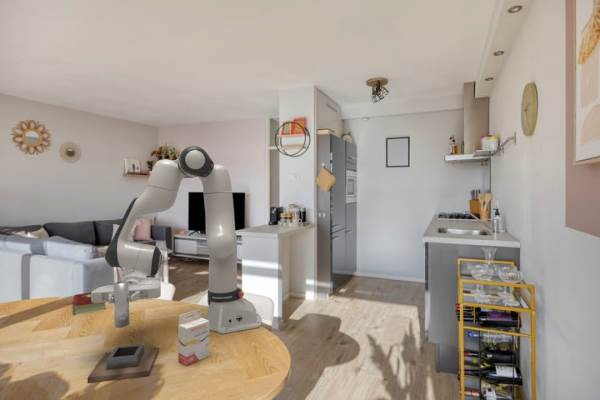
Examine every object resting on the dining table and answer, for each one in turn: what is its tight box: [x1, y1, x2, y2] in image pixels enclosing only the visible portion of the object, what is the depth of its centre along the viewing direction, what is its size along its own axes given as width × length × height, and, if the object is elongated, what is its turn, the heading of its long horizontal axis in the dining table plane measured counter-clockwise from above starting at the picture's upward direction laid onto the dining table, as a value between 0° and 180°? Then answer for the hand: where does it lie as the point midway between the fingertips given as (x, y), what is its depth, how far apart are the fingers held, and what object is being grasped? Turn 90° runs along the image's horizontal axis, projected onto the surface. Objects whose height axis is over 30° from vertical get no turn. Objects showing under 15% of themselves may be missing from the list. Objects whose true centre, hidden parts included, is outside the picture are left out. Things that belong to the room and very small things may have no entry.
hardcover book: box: [73, 291, 107, 316], centre depth 157 cm, size 12×21×4 cm, turn 34°
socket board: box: [86, 346, 160, 384], centre depth 103 cm, size 16×15×2 cm
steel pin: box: [113, 280, 131, 329], centre depth 103 cm, size 4×4×13 cm
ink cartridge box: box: [177, 308, 210, 367], centre depth 107 cm, size 9×5×15 cm, turn 141°
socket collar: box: [106, 343, 145, 370], centre depth 103 cm, size 8×8×3 cm
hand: (120, 300), depth 102 cm, fingers closed on steel pin, 4 cm apart
